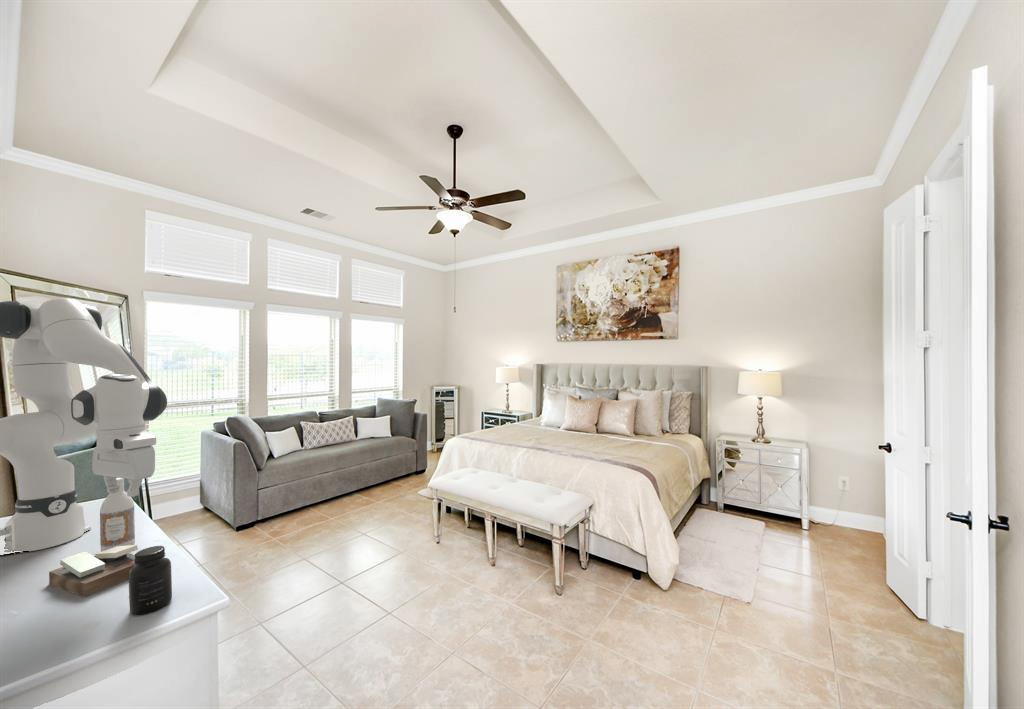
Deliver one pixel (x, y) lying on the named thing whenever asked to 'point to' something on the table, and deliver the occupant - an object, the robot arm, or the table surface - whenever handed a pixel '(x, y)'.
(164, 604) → the supplement bottle
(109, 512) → the bath foam
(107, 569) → the switch plate
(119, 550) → the block
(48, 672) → the table surface
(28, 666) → the table surface
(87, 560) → the block
